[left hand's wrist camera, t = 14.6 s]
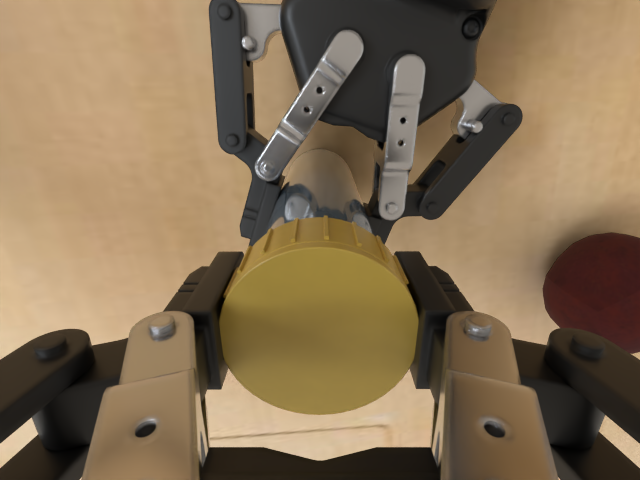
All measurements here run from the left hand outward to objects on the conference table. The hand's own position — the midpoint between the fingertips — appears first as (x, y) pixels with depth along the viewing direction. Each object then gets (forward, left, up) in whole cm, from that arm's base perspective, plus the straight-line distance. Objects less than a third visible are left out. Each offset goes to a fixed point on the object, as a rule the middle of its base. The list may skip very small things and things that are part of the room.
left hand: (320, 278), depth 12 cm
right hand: (+2, -2, -7) cm, 7 cm away
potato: (+14, +14, -13) cm, 24 cm away
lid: (0, 0, +3) cm, 3 cm away
